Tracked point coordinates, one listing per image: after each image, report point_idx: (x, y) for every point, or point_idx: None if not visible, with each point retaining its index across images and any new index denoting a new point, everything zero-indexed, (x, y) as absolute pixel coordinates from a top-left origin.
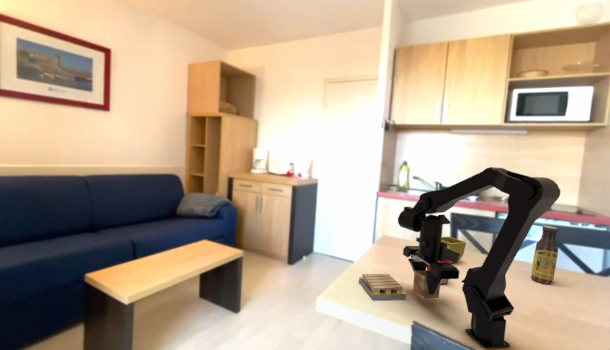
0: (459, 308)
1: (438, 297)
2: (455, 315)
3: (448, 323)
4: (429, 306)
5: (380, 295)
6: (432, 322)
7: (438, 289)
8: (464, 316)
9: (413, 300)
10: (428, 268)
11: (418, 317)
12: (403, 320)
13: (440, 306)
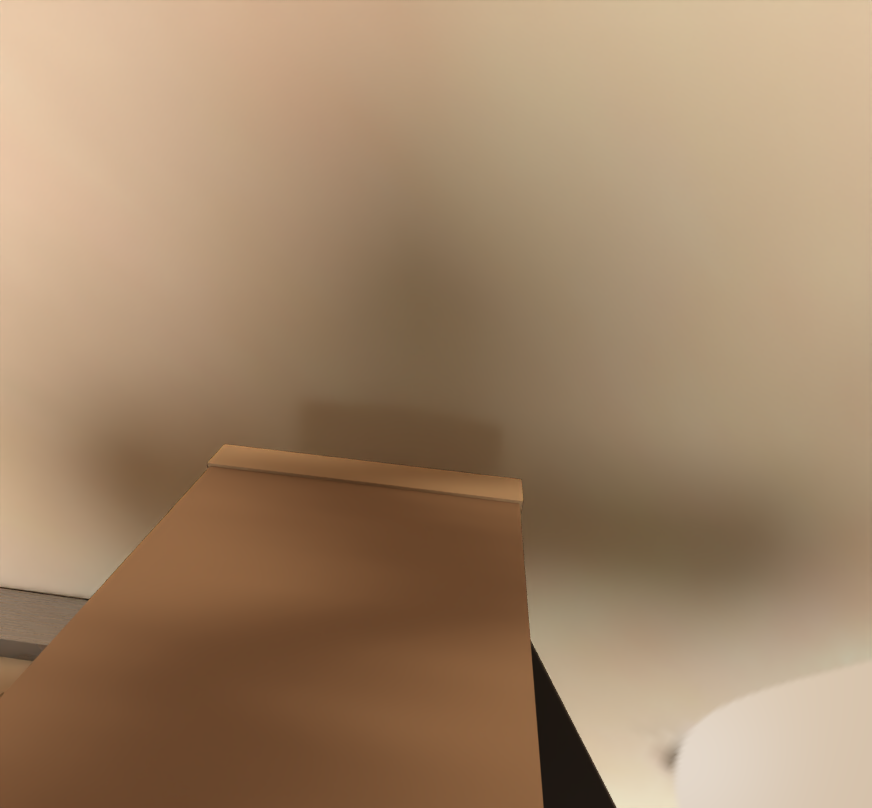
0: (644, 106)
1: (521, 499)
2: (772, 346)
3: (853, 550)
4: None
5: None
6: (757, 664)
7: (523, 618)
8: (858, 227)
9: None
10: None
11: (639, 708)
12: (635, 805)
13: (515, 379)
